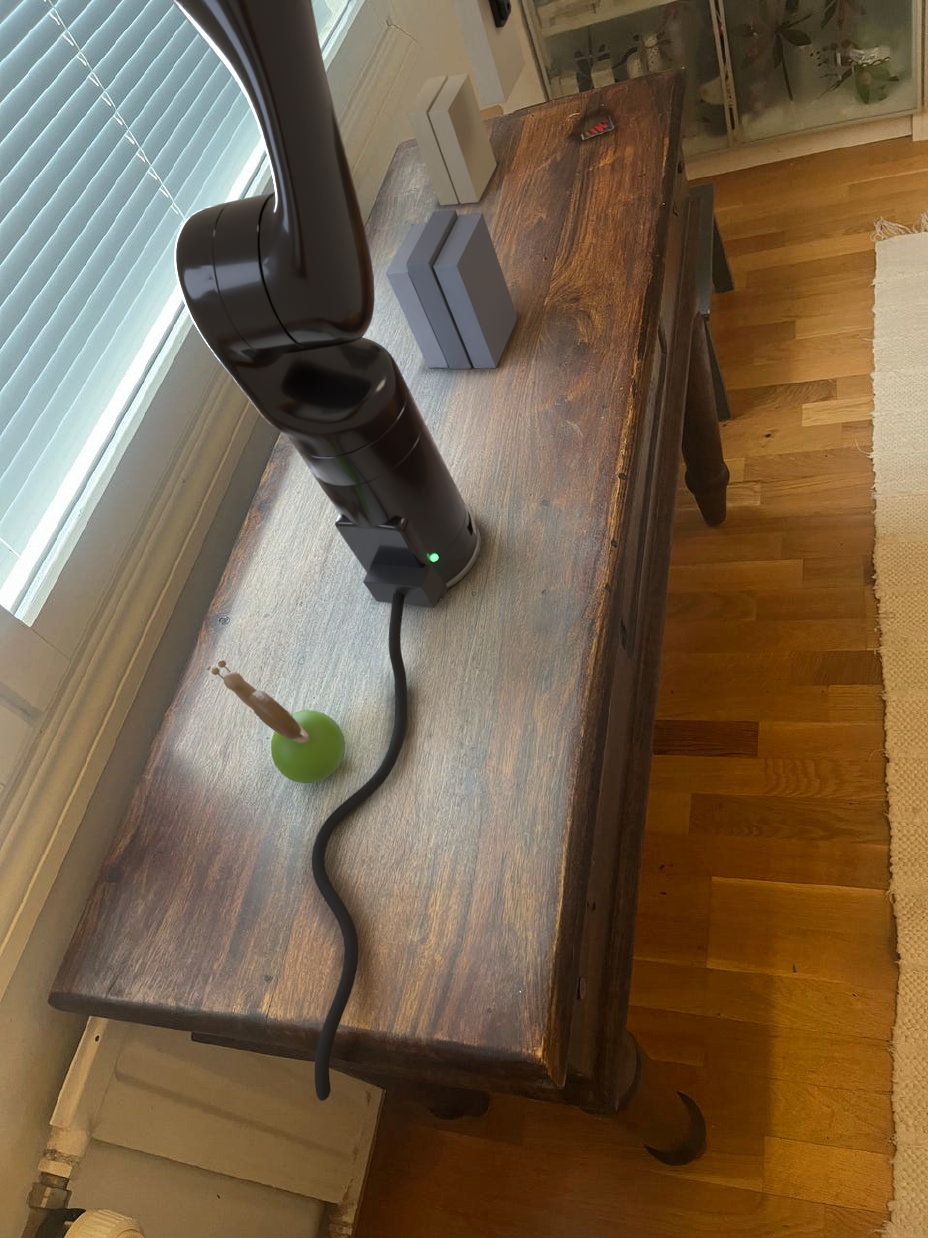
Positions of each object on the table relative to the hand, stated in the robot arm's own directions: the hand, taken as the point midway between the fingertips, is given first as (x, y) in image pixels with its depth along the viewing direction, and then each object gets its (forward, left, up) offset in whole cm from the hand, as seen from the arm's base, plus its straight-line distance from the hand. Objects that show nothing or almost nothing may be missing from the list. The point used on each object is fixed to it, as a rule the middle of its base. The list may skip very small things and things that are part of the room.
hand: (488, 24), depth 93 cm
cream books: (0, +8, -17) cm, 19 cm away
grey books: (-27, -2, -17) cm, 32 cm away
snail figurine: (-73, -5, -17) cm, 75 cm away
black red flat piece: (+9, -5, -18) cm, 20 cm away
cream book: (0, 0, -6) cm, 6 cm away
